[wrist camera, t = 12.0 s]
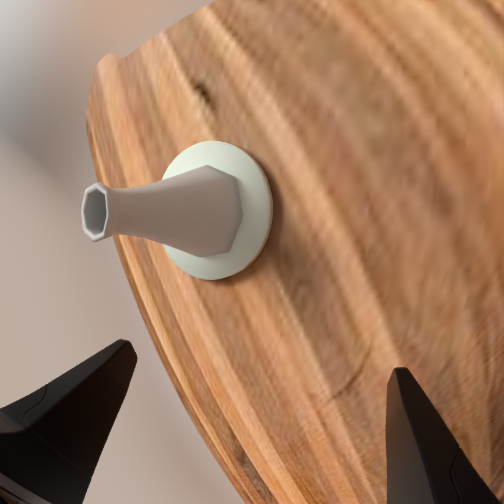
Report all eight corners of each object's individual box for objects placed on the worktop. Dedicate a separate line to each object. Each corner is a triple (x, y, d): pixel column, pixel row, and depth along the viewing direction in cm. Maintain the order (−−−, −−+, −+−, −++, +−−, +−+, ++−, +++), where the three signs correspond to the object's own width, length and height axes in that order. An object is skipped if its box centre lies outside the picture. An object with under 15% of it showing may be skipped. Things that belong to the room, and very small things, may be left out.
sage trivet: (301, 189, 20) (296, 188, 19) (225, 304, 24) (218, 308, 23) (199, 122, 23) (192, 120, 23) (148, 226, 28) (140, 226, 27)
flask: (250, 165, 20) (140, 137, 12) (240, 265, 22) (131, 295, 13) (175, 165, 24) (71, 151, 15) (169, 249, 25) (66, 265, 16)
